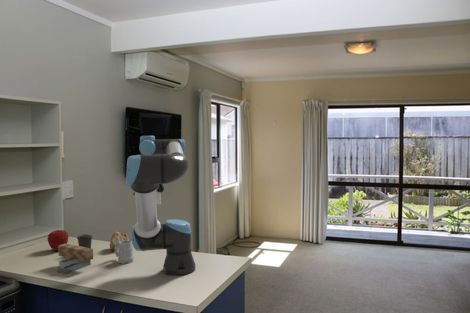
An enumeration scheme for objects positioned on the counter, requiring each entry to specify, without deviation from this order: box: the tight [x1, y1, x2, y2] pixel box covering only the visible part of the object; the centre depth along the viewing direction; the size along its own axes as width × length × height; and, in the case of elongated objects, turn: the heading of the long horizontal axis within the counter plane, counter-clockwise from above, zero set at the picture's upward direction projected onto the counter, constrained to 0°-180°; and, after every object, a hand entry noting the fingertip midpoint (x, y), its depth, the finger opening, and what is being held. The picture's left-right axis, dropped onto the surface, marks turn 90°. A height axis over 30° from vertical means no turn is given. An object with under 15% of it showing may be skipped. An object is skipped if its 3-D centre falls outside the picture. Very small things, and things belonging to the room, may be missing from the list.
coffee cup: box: [76, 234, 93, 248], centre depth 209 cm, size 8×8×10 cm
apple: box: [47, 229, 69, 252], centre depth 216 cm, size 11×11×12 cm
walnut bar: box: [57, 243, 94, 261], centre depth 187 cm, size 20×4×5 cm, turn 61°
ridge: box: [57, 257, 92, 274], centre depth 186 cm, size 6×14×5 cm, turn 149°
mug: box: [114, 236, 135, 264], centre depth 196 cm, size 8×12×12 cm, turn 57°
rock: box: [109, 231, 130, 251], centre depth 216 cm, size 12×10×10 cm
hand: (149, 206), depth 199 cm, fingers open, 13 cm apart
